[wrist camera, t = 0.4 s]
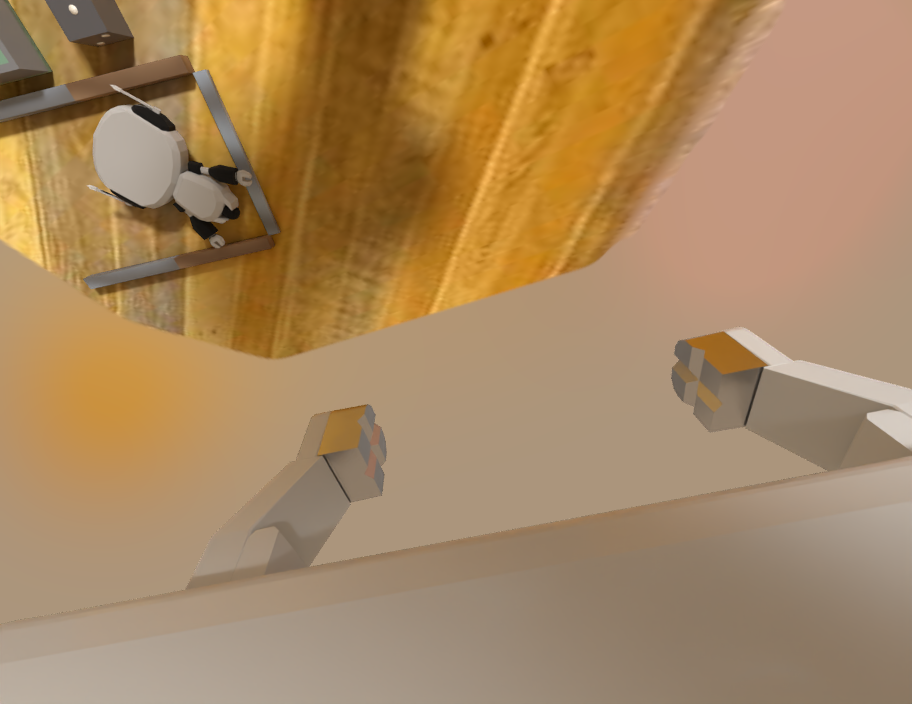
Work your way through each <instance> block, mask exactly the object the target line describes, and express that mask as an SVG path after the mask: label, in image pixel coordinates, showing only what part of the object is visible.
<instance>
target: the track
mask: <svg viewBox="0 0 912 704" xmlns="http://www.w3.org/2000/svg"><path fill="white" fill-rule="evenodd" d="M191 74H193V75H194V77H195V79H196V81H197V83H198V86H199V88H200V90H201V92H202V94H203V96H204V98H205V101H206V103H207V105H208V107H209V109H210V111H211V113H212V115H213V118H214V120H215V122H216V124H217V126H218V128H219V130H220V133H221V135H222V137H223V139H224V141H225V143H226V145H227V148H228V150H229V152H230V154H231V156H232V158H233V160H234V163H235V165H236V167H237V168H238V171H240V170H245V171H247V172H249V173H250V174H251V176H252V178H251V179H250V178H246V177H245V180H250V181H251V180H252V184H251V185H250V186H246V188H247V190H248V192H249V195H250V197H251V199H252V201H253V203H254V205H255V207H256V210H257V212H258V214H259V216H260V218H261V220H262V222H263V225H264V227H265V229H266V231H267V233H268V235H265V236H260V237H256V238H252V239H247V240H243V241H238V242H234V243H230V244H225V245H223V246H221V247H220V248H215V247H212V248H208V249H203V250H199V251H194V252H190V253H186V254H181V255H177V256H173V257H168V258H164V259H159V260H155V261H151V262H146V263H142V264H137V265H133V266H129V267H124V268H120V269H116V270H111V271H107V272H102V273H98V274H94V275H90V276H88V277H86V278H84V279H83V280H84V281H85V282H86V283H87V285H88V286H89V287H90V289H94V288H98V287H103V286H107V285H112V284H116V283H121V282H125V281H129V280H134V279H138V278H143V277H147V276H152V275H156V274H160V273H165V272H169V271H174V270H178V269H183V268H187V267H191V266H196V265H200V264H205V263H209V262H213V261H218V260H222V259H227V258H231V257H236V256H240V255H244V254H249V253H253V252H258V251H262V250H267V249H271V248H272V247H274V246H275V244H274V241H273V239H272V237H271V235H273V234H277V233H280V232H281V231H280V229H279V227H278V225H277V222H276V220H275V218H274V216H273V213H272V211H271V209H270V207H269V204H268V202H267V200H266V198H265V196H264V193H263V191H262V189H261V187H260V184H259V182H258V180H257V178H256V175H255V173H254V171H253V169H252V167H251V164H250V162H249V160H248V158H247V155H246V153H245V151H244V149H243V146H242V144H241V142H240V140H239V138H238V135H237V133H236V131H235V129H234V126H233V124H232V122H231V120H230V117H229V115H228V113H227V111H226V109H225V106H224V104H223V102H222V100H221V97H220V95H219V93H218V91H217V88H216V86H215V84H214V82H213V80H212V77H211V75H210V73H209V71H208V70H202V71H198V72H195V71H194V69H193V67H192V65H191V63H190V61H189V59H188V56H183V55H178V56H174V57H170V58H166V59H162V60H158V61H154V62H150V63H147V64H143V65H139V66H135V67H131V68H127V69H123V70H119V71H115V72H111V73H107V74H103V75H100V76H96V77H92V78H88V79H84V80H80V81H76V82H72V83H68V84H64V85H60V86H56V87H52V88H49V89H45V90H41V91H37V92H33V93H29V94H25V95H21V96H17V97H13V98H9V99H5V100H1V101H0V122H4V121H8V120H12V119H16V118H20V117H24V116H28V115H32V114H36V113H40V112H44V111H48V110H52V109H56V108H60V107H64V106H68V105H72V104H76V103H80V102H84V101H87V100H91V99H95V98H99V97H103V96H107V95H111V94H115V93H119V91H117V90H115V89H113V87H112V86H111V85H116V86H117V87H119V88H121V89H122V90H124V91H127V90H131V89H135V88H139V87H143V86H147V85H151V84H155V83H159V82H163V81H167V80H171V79H175V78H179V77H183V76H187V75H191Z"/></svg>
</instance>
